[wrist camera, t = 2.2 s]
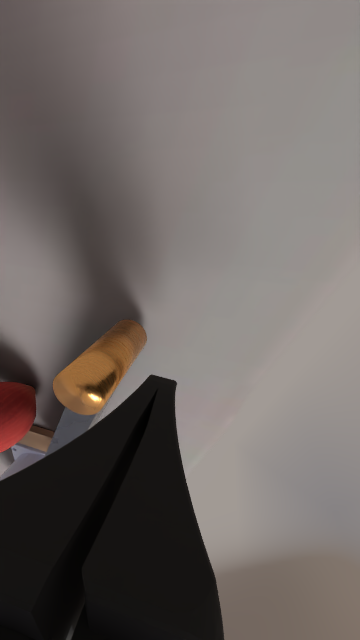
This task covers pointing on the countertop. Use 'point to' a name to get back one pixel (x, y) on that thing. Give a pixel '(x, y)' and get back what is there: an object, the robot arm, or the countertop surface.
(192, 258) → the countertop surface
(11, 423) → the onion
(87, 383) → the lever
